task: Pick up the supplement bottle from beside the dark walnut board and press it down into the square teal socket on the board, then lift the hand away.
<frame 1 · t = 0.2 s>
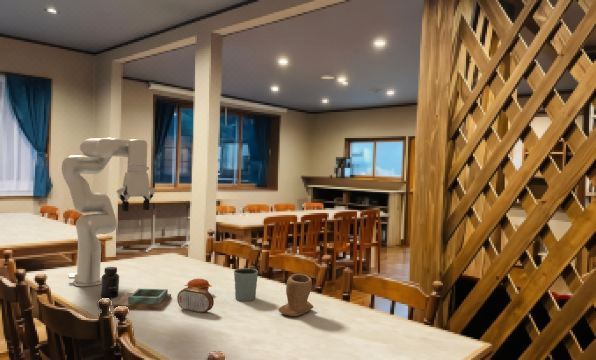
hand: (135, 210, 179), 36 cm above the table, tool pointing down, fingers open, 9 cm apart
socket board: (143, 302, 173), on the table
supplement bottle: (109, 297, 179), on the table
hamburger: (197, 294, 188), on the table
grey cup: (245, 299, 184), on the table
stone cup: (298, 313, 168), on the table
tin: (194, 311, 166), on the table
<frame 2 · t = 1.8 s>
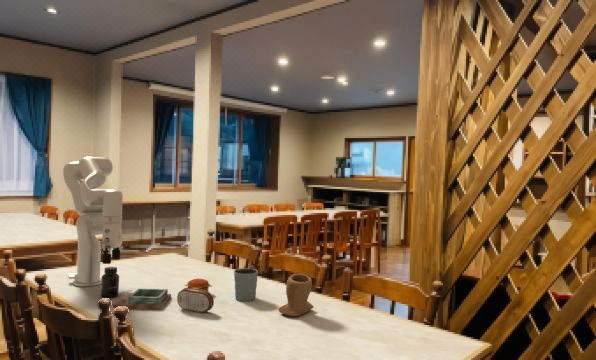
hand: (111, 261, 178), 15 cm above the table, tool pointing down, fingers open, 9 cm apart
nothing on the table moved.
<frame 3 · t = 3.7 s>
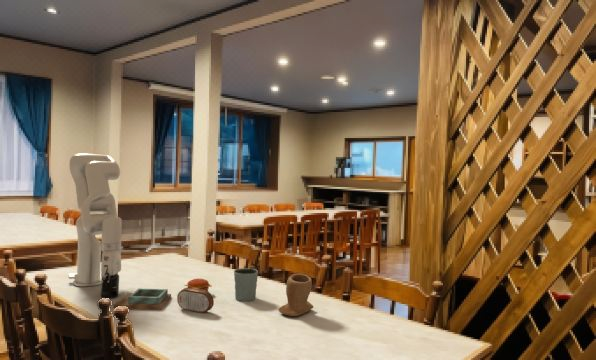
hand: (110, 288, 179), 3 cm above the table, tool pointing down, fingers closed on supplement bottle, 6 cm apart
supplement bottle: (109, 297, 179), on the table, touching gripper
everything else where it was.
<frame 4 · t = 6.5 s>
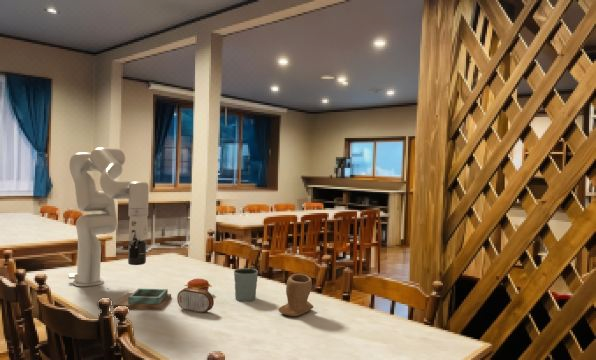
hand: (137, 255, 174), 18 cm above the table, tool pointing down, fingers closed on supplement bottle, 6 cm apart
supplement bottle: (137, 264, 174), point 15 cm above the table, touching gripper
everything else where it was.
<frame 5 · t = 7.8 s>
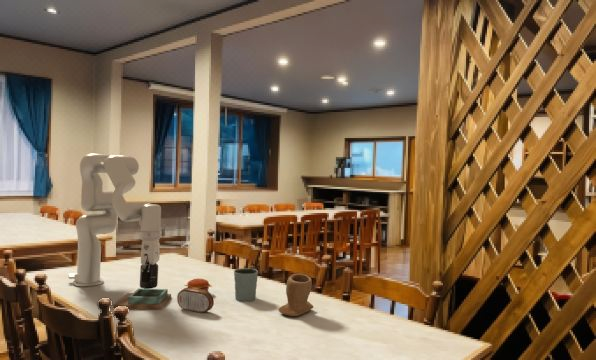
hand: (148, 279, 173), 10 cm above the table, tool pointing down, fingers closed on supplement bottle, 6 cm apart
supplement bottle: (148, 287, 173), point 6 cm above the table, touching gripper
everything else where it was.
when the fingers open (5 cm above the table, at t = 9.2 s): supplement bottle stays where it is, resting on socket board.
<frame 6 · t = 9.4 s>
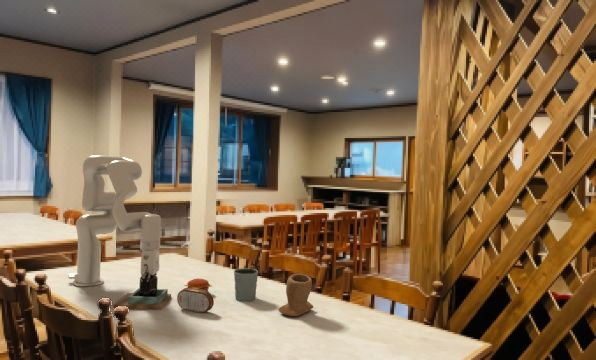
hand: (148, 288, 173), 6 cm above the table, tool pointing down, fingers open, 8 cm apart
supplement bottle: (148, 299, 173), point 1 cm above the table, touching socket board
everything else where it was.
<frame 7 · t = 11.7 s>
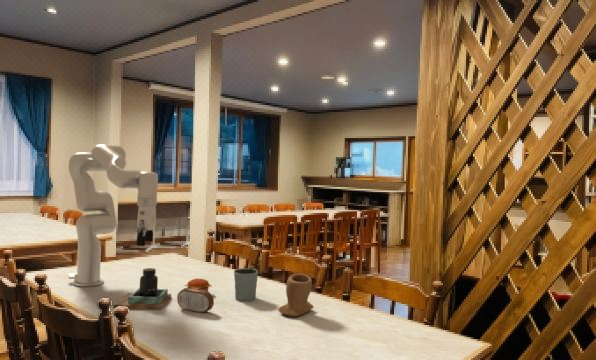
hand: (144, 243, 177), 23 cm above the table, tool pointing down, fingers open, 9 cm apart
nothing on the table moved.
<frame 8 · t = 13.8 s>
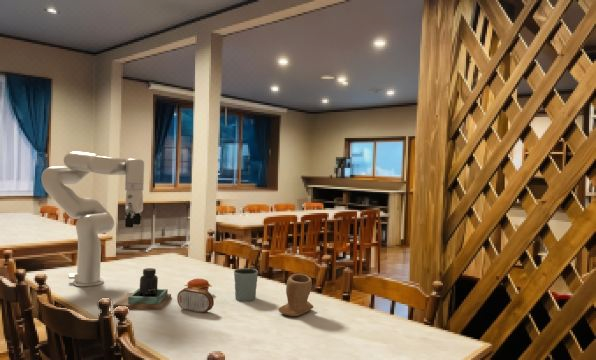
hand: (133, 225, 190), 28 cm above the table, tool pointing down, fingers open, 9 cm apart
nothing on the table moved.
at the end: supplement bottle 0.3 cm from the target spot on the socket board, point 1.3 cm above the socket board's base; supplement bottle tilted 0°; the gripper is holding nothing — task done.
